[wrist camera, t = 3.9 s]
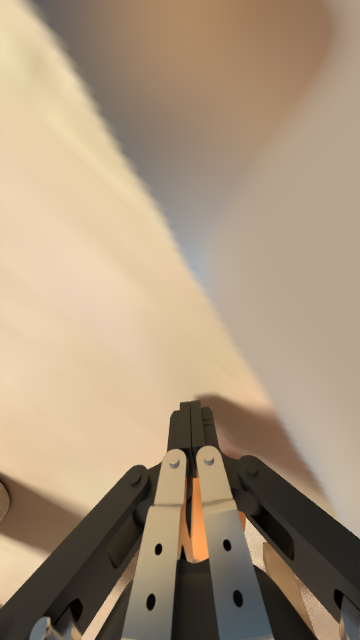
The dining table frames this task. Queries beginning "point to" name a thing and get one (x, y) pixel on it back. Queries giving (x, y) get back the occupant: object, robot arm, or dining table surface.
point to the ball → (202, 524)
